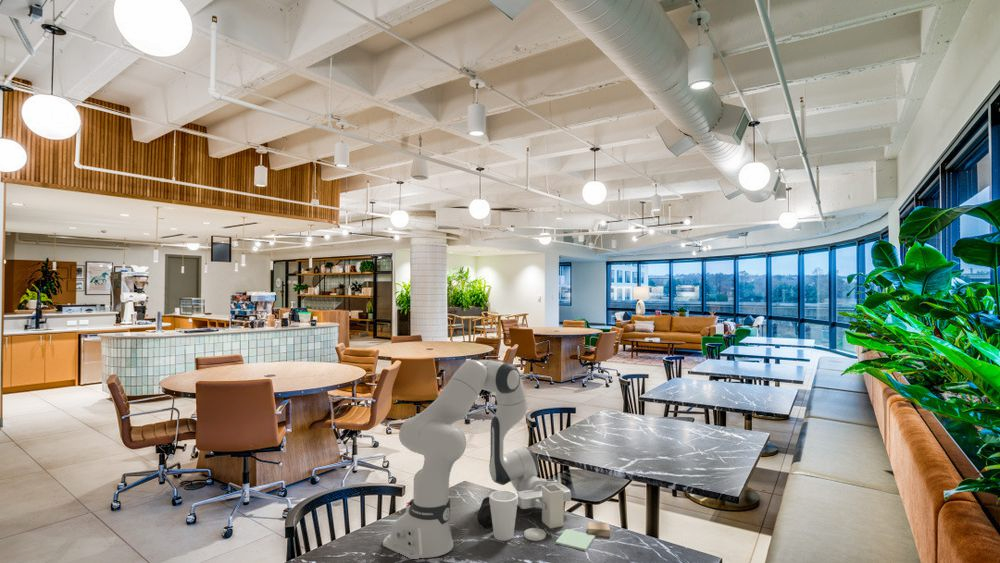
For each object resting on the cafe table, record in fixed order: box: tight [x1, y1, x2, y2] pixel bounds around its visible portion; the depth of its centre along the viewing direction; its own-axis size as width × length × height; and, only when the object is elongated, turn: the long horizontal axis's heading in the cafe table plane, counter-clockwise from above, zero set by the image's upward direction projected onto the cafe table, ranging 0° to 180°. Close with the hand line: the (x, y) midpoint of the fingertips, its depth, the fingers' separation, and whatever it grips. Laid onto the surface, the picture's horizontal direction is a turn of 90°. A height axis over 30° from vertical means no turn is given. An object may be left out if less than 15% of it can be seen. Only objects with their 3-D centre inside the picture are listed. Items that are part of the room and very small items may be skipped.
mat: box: [555, 528, 596, 552], centre depth 161 cm, size 10×10×1 cm
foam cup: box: [488, 489, 518, 541], centre depth 164 cm, size 10×9×13 cm
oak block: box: [587, 521, 611, 538], centre depth 166 cm, size 7×5×2 cm
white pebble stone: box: [523, 527, 546, 542], centre depth 164 cm, size 7×7×1 cm
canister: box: [541, 484, 565, 529], centre depth 173 cm, size 6×5×12 cm
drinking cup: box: [476, 496, 493, 529], centre depth 173 cm, size 8×8×20 cm
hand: (553, 505), depth 172 cm, fingers closed on canister, 5 cm apart
